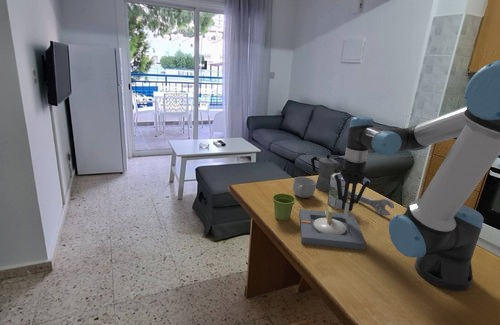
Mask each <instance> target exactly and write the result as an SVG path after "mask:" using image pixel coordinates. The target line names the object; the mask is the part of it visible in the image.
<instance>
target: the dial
mask: <svg viewBox="0 0 500 325" xmlns="http://www.w3.org/2000/svg"><path fill="white" fill-rule="evenodd" d="M332 208H333V207H331V206H329V205H328V206H326V210H325V211H326V218H319V219H316V220H315V221H314V228H315V230H317V231H318V232H320V233H324V234H334V235H343V234H344V233H345V231H346V227H345V225H344V224H343V223H342V222H340V221H338V220H335V219H332V214H333V209H332Z"/></svg>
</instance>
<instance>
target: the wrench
mask: <svg viewBox="0 0 500 325" xmlns="http://www.w3.org/2000/svg"><path fill="white" fill-rule="evenodd" d="M351 192H352V190H350V189H349V191H348V196H347V198H349V199H350V198H351ZM358 194H359V192H358V193H357V192H355V198H354V199H356V198H357V196H358ZM359 202H360V203H363V204H366V205H369V206H370V207H372V208H373V209H374V210H375V211H376V213H377V215H378V216H380V215H382V216H390V215H391V213H390V212H389V210H387V209H386V206H388V207H389V208H390V209H394V208H395V204H394V202H392V200H391V199H388V198H384V199H383V198H382V199H373V198H370V197H368V196H365V195H363V194H362V196H361V198H360V200H359Z"/></svg>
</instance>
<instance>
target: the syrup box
mask: <svg viewBox="0 0 500 325" xmlns="http://www.w3.org/2000/svg"><path fill="white" fill-rule="evenodd" d="M335 174H336V173H334V174H333V175H331V181H330V188H329V191H328V198H327V205H328V206H329V207H331V208H333V209H335V210H339V209H342V203H343V202H342V200H339V199H338V192H337V183H336V179H335V177H334V176H335ZM345 183H346V182H345V181H344V179H343V177H342V176H341V186H342V195H343V196H344V190H345Z"/></svg>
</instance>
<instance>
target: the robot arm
mask: <svg viewBox="0 0 500 325" xmlns="http://www.w3.org/2000/svg"><path fill="white" fill-rule="evenodd" d="M463 96H464V98H465V101H464V104H465V106H462V107H460V108H458V109H454V110H451V111H449V112H447V113H444V114H441V115H439V116H436V117H433V118H431V119H429V120H426V121H423V122H420V123H418V124H416V125H415V124H414V125H413V126H410V127H405V128H404V127H401V128H400V127H399V128H380V127H377V126H374V118H372V117H367V116H362V115H356V116H353V117H351V119H350V122H349V127H348V135H347V142H346V147H345V153H344V154H345V155H344V160H343V167H342V170H341V171H340V172H339V173H338V172H337V173H334V174H335V176H334V177H335V179H336V183H337V192H338V199H339V200H342V202H343V203H342V208H341V210H343V213H344V215H343V218H344V219H347V218H348V214H350V212H352V211H353V209H354V208H353V207H354V204H358V203H359V202H360V201H359V200H360V198H361V196H362V195H363V194H364V192H365V190H366V189H367V187H368V186H369V185H370V183H371V179H369V178H367V177H366V175H365V171H366V170H365V169H366V164H367V162H366V161H367V160H368V159H367V158H368V154H369V150H370V151H374V152H375V153H377V154H379V155H383V156H386V157H387V156H388V157H390V156H393V155H394V154H396V153H398V152H402V151H403V152H405V151H415V152H417V151H421V150H425V149H426V148H428V147H429V146H433V145H434V144H438V143H441V142H442V143H443V142H445V141H448V140H452V139H455V138H456V139H455V142H454V143H453V144H452V146H451V148H450V150H449V151H448V153H447V155H446V156H445V158H444V160H443V161H442V163H441V164H440V166H439V168H438V169H437V171H436V173H435V175H434V176H433V178H432V179H431V181H430V182H429V184H428V186H427V188H425V191H424V192H423V193H422V196H421V197H420V198H419V199H415V200H412V201H411V202H410V203H409V205H408V207H407V208H406V210H405V211H404V213H403V214H397V215H395V216H392V218H391V219H390V221H389V223H388V234H389V236H390V237H389V238H390V240H391V243H392V245H393V246H394V248H395V249H396V250H397V251H398V252H399V253H400V254H402V255H403V256H404V257H407V258H413V259H414V258H416V259H415V263H414V269H415V270H416V272H417V274H418V275H419V276H420V277H421V278H423V279H424V280H425V281H427V282H429V283H430V284H432V285H435V286H436V287H438V288H442V289H445V290H449V291H453V292H461V291H467V290H469V289H471V286H472V283H473V280H474V277H473V276H474V275H473V268H472V267H473V266H472V259H473V256H474V252H475V249H476V246H477V243H478V240H479V237H480V235H481V231H482V229H483V223H484V217H483V215H482V214H481V213H480V212H479V211H478V210H475V209H474V208H472V207H470V206H467V205H464V204H465V203H466V202H467V200H468V199H469V197H470V196H471V195H472V193H473V192H474V190H475V189H476V187H477V186H478V185H479V183H480V182H481V181H482V180H483V178H484V177H485V176H486V174H487V172H488V171H489V169H491V167H492V166H493V164H494V163H495V162H496V160H497V159H498V158H499V156H500V60H499V59H498V60H495V61H492V62H490V63H488V64H486V65H485V66H483V67H481V68H480V69H479V70H478V71H476V72H475V74H473V75H472V77H471V79H470V80H469V81H468V82H467V85H466V87H465V90H464V95H463ZM341 176H342V177H343V179H344V181H345V182H346V183H345V190H344V196H343V195H342V186H341ZM360 182H362V186H361V188H360V190H359V192H358V196H357V198H356V199H354V198H355V193H357V192H356V190H357V187H358V184H360ZM351 184H352V186H351V191H352V192H351V198H350V197H349V200H348V197H347V196H348V191H349V190H350V185H351Z"/></svg>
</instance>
